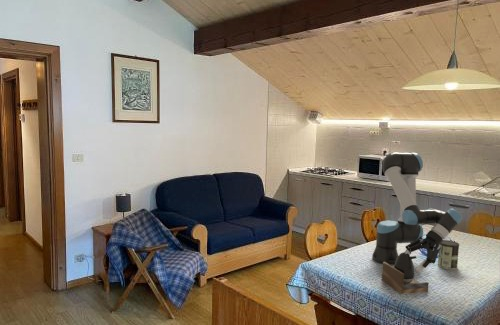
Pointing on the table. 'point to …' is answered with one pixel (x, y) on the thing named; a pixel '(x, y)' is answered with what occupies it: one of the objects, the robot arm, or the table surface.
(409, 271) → the pump dispenser
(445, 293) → the table surface
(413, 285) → the stand
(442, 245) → the coffee can
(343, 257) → the table surface
